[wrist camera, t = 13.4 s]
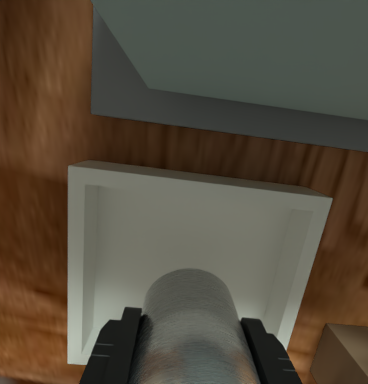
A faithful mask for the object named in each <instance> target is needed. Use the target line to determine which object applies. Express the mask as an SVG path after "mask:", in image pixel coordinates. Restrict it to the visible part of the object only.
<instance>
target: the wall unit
mask: <svg viewBox="0 0 368 384" xmlns="http://www.w3.org/2000/svg"><path fill="white" fill-rule="evenodd" d="M91 2H92V3H93V43H92V83H91V114H94V115H99V116H106V117H113V118H121V119H128V120H135V121H143V122H150V123H157V124H165V125H172V126H179V127H187V128H194V129H201V130H209V131H216V132H223V133H231V134H238V135H246V136H253V137H260V138H268V139H275V140H282V141H290V142H297V143H304V144H312V145H319V146H326V147H334V148H341V149H348V150H356V151H363V152H368V0H91Z"/></svg>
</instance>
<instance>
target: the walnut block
mask: <svg viewBox="0 0 368 384" xmlns="http://www.w3.org/2000/svg"><path fill="white" fill-rule="evenodd" d="M310 372H311V374H312V375H313V377H314V379H315V381H316V383H317V384H368V327H364V326H353V325H342V324H330V323H326V325H325V328H324V331H323V333H322V336H321V339H320V342H319V345H318V348H317V351H316V354H315V357H314V359H313V362H312V365H311V368H310Z"/></svg>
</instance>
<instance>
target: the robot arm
mask: <svg viewBox="0 0 368 384" xmlns="http://www.w3.org/2000/svg"><path fill="white" fill-rule="evenodd" d="M141 316H142V308H136V307H125V308H124V311H123V314H122V318H121V320H111V319H110V320H109V321H108V322H107V323H106V324H105V325H104V326H103V327H102V328H101V330H100V332H99V335H98V337H97V340H96V342H95V345H94V347H93V350H92V352H91V356H90V357H89V360H88V362H87V365H86V368H85V370H84V373H83V375H82V378H81V380H80V383H79V384H128V381H129V376H130V371H131V366H132V361H133V356H134V351H135V346H136V341H137V336H138V331H139V326H140V321H141ZM240 323H241V326H242V329H243V332H244V335H245V338H246V341H247V344H248V347H249V350H250V353H251V356H252V359H253V362H254V365H255V368H256V371H257V374H258V377H259V380H260V383H261V384H302V382H301V380H300V378H299V376H298V374H297V372H295V368H294V366H293V364H292V362H291V361H290V359H289V356H288V354H287V352H286V350H285V348H284V346H283V345H282V343H281V342H280V341H279V340H278V339H277V338H276V337H275V336H274V334H272V333H267V332H266V330H265V328H264V326H263V323H262V321H261V320H260V319H256V318H245V317H242V318H241V321H240Z"/></svg>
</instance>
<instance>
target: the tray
mask: <svg viewBox="0 0 368 384" xmlns="http://www.w3.org/2000/svg"><path fill="white" fill-rule="evenodd" d="M332 200H333V198H331V197H329V196H326V195H324V194H322V193H319V192H317V191H314V190H312V189H310V188H307V187H303V186H295V185H287V184H279V183H271V182H263V181H255V180H247V179H239V178H231V177H223V176H215V175H207V174H199V173H191V172H183V171H175V170H167V169H159V168H151V167H143V166H135V165H127V164H119V163H111V162H103V161H95V160H86V161H82V162H79V163H76V164H72V165H69V166H68V364H80V365H87V362H88V360H89V357H90V356H91V352H92V350H93V347H94V345H95V342H96V340H97V337H98V335H99V332H100V330H101V328H102V327H103V326H104V325H105V324H106V323H107V322H108V321H109V320H110V319H111V320H121V318H122V314H123V311H124V308H125V307H136V308H143V303H144V298H145V296H146V293H147V291H148V289H149V288H150V287H151V285H152V284H153V283H154V282H155V281H156V280H157V279H159V278H160V277H161V276H163V275H165V274H167V273H169V272H171V271H175V270H179V269H186V268H193V269H200V270H204V271H207V272H210V273H212V274H214V275H215V276H217V277H218V278H220V279H221V280H222V281H223V282H224V283H225V284H226V286H227V287H228V289H229V291H230V293H231V296H232V299H233V302H234V305H235V308H236V311H237V314H238V317H239V320H240V321H241V318H242V317H245V318H256V319H260V320H261V321H262V323H263V326H264V328H265V330H266V332H267V333H272V334H274V336H275V337H276V338H277V339H278V340H279V341H280V342H281V343H282V345H283V346H284V348H285V350H287V346H288V343H289V340H290V337H291V333H292V330H293V327H294V324H295V320H296V317H297V314H298V311H299V307H300V304H301V301H302V298H303V294H304V291H305V288H306V285H307V281H308V278H309V275H310V272H311V268H312V265H313V262H314V259H315V255H316V252H317V249H318V246H319V242H320V239H321V236H322V233H323V229H324V226H325V223H326V220H327V216H328V213H329V210H330V207H331V203H332Z"/></svg>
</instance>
